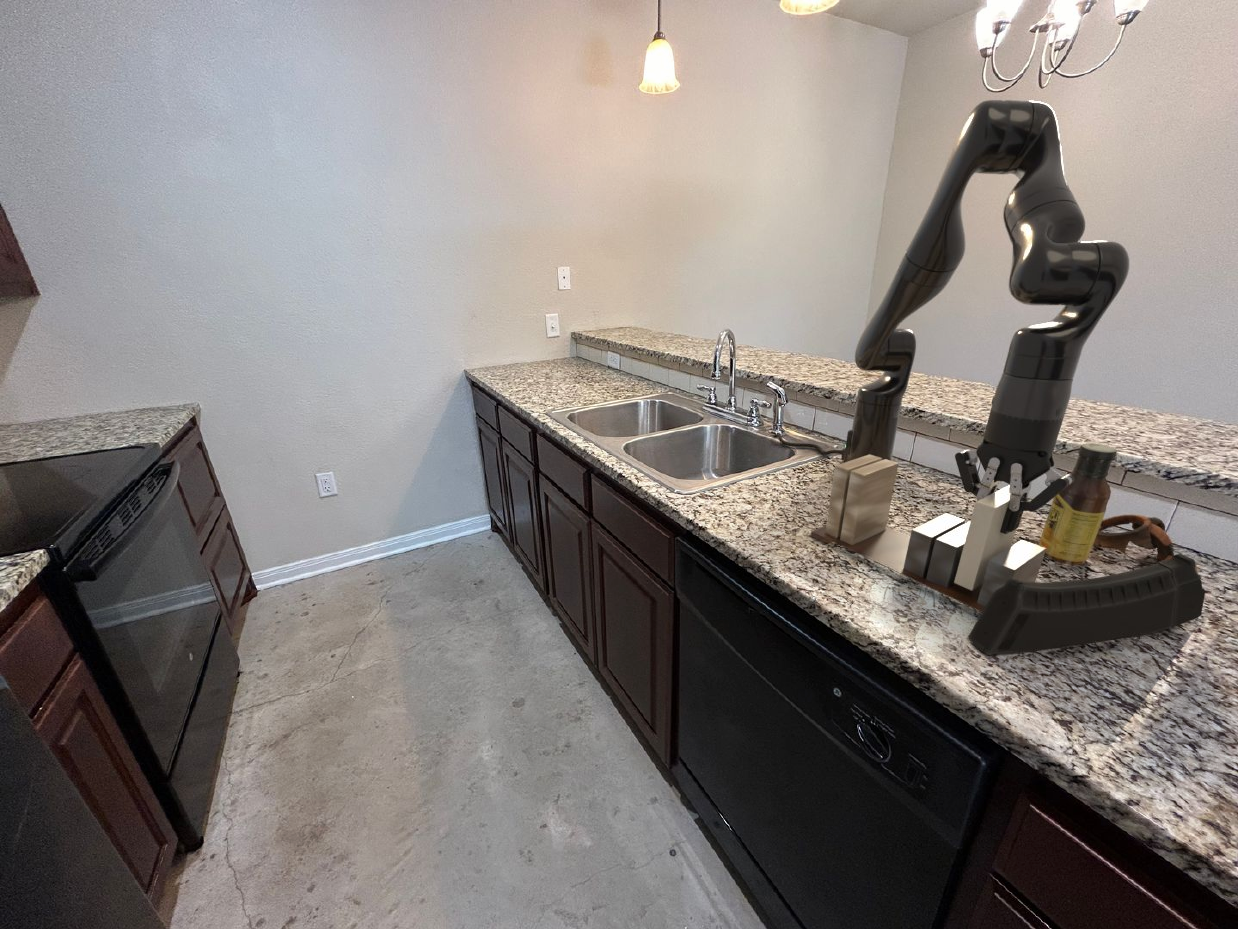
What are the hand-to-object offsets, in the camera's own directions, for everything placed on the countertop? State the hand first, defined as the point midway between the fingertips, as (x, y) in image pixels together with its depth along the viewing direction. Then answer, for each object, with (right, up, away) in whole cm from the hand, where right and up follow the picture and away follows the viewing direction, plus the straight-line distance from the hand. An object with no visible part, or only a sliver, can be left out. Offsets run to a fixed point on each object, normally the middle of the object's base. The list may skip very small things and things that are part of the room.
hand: (993, 527), depth 71 cm
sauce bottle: (+19, -7, +11) cm, 23 cm away
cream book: (0, -8, +3) cm, 8 cm away
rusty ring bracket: (+31, -6, +12) cm, 34 cm away
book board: (-5, -7, +11) cm, 14 cm away
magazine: (+6, -14, -7) cm, 17 cm away
